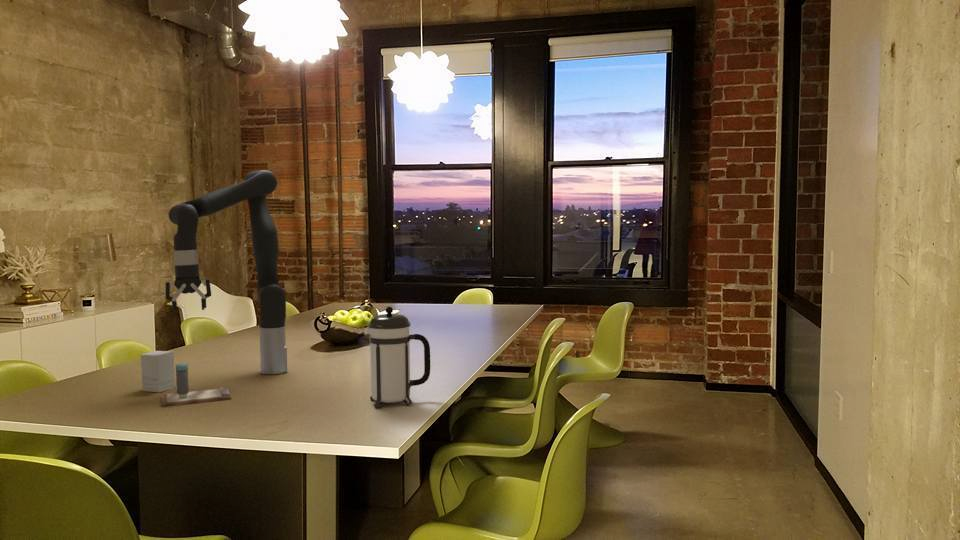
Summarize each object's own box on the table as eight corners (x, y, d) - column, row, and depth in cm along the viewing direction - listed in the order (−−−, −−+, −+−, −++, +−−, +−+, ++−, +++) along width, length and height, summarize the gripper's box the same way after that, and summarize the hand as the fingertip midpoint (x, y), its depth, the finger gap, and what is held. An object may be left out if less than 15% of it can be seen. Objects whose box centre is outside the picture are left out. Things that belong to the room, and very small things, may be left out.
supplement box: (175, 387, 232) (174, 351, 231) (159, 392, 225) (157, 355, 224) (158, 386, 234) (157, 350, 233) (141, 391, 227) (140, 354, 226)
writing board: (227, 390, 228) (227, 385, 227) (231, 399, 216) (231, 394, 216) (162, 397, 219) (161, 392, 219) (161, 406, 207) (161, 402, 207)
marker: (188, 395, 217) (187, 363, 216) (189, 398, 214) (188, 365, 213) (176, 396, 215) (175, 364, 215) (176, 399, 212) (175, 366, 211)
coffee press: (397, 412, 199) (395, 311, 197) (356, 405, 207) (354, 307, 205) (432, 399, 214) (430, 304, 212) (392, 392, 222) (390, 301, 220)
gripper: (207, 261, 236) (210, 307, 238) (162, 264, 230) (166, 311, 231) (210, 262, 230) (213, 310, 231) (163, 265, 223) (167, 314, 224)
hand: (189, 310), depth 231 cm, fingers open, 8 cm apart
